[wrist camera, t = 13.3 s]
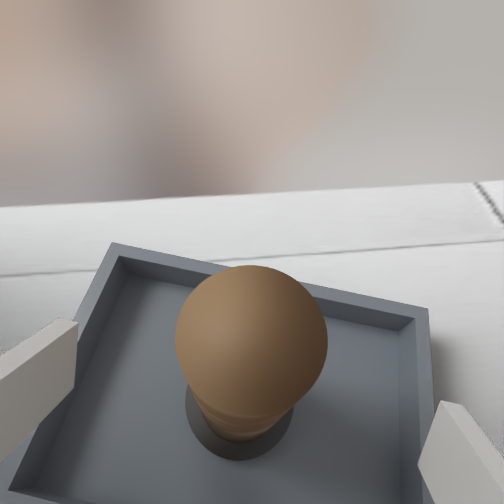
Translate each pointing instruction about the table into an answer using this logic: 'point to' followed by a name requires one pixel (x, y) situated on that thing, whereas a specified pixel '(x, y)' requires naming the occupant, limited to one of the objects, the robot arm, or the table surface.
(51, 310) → the table surface
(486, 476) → the robot arm
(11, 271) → the table surface
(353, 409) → the tray
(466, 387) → the table surface
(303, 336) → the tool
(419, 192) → the table surface
